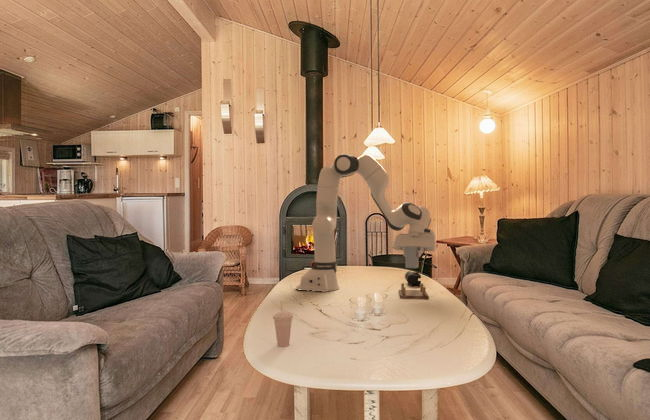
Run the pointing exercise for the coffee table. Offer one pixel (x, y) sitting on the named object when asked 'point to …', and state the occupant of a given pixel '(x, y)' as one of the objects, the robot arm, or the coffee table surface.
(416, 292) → the stand
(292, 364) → the coffee table surface
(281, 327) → the smoothie
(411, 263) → the slate block
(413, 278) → the end cap
